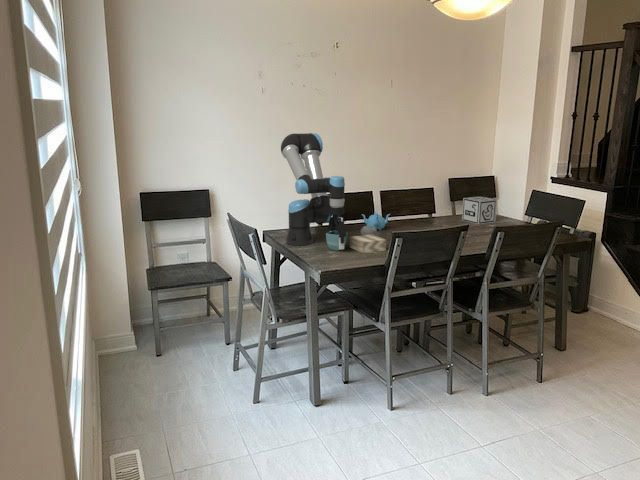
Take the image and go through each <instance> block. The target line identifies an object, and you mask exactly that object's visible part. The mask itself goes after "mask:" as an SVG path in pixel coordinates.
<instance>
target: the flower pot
mask: <svg viewBox="0 0 640 480" xmlns="http://www.w3.org/2000/svg"><path fill="white" fill-rule="evenodd" d="M348 234H349V233H348V231H346V236H345V237H344V247H345V246H346V244H347V241H348V236H349V235H348ZM339 236H340V235H339V232H338V230H335V231H331V232H330V231H328V232H326V233H325V238H326V239H325V240H326V244H327V246H328V248H329V249H330V250H333V251H338V252H339V251H340V250H342V249H339Z"/></svg>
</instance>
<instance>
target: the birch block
mask: <svg viewBox="0 0 640 480" xmlns="http://www.w3.org/2000/svg"><path fill="white" fill-rule="evenodd" d="M349 248H350V249H353V250H355V251H357V252H359V253H361V252H362V254H367V253H368V254H369V253H374V252H381V251H382V252H383V251H386V250H387V238H383V237H380V236H378V235H377V234H376V235H373V234H369V235H361V234H360V235H353V236H349Z"/></svg>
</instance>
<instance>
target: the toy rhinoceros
mask: <svg viewBox="0 0 640 480" xmlns="http://www.w3.org/2000/svg"><path fill="white" fill-rule="evenodd" d="M375 228H376V227H374V228H373V227H372V226H371V227H370V226H367V225H364V226H362V228H361V229H360V236H361V235H369V234H373V235H376V236H377V234H378V233H377V229H375Z"/></svg>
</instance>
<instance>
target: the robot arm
mask: <svg viewBox="0 0 640 480" xmlns="http://www.w3.org/2000/svg"><path fill="white" fill-rule="evenodd" d="M323 145H324V144H323V140H322V138H321V136H320V135H319V134H318V133H312V132H309V133H290V134H288V135H287V136H285V137H284V138H283V140H282V141H281V143H280V152H281V155H282V157H283V158H284V159H286V161H287V163H288V165H289V167H290V170H291V171H292V173H293V176H294V178H295V180H296V181H295V184H294V186H295V187H294V188H295V192H296V193H297V194H299V195H307V194H308V195H309V194H310V196H311V198H310V199H296V200H293V201H291V202H289V204H288V210H287V211H288V212H287V213H288V230H287V233H286V237H285V243H286V244H287V245H291V246H308V245H313V243H314V237H313V234H312V231H311V225H310V224H315V223H316V224H319V223H327V222H328V225H327V230H328V232H331V231H336V227H337V231H338V232H339V235H340V236H339V249H341V250H345V246H344V237H345V236H346V232H347V231H346V230H347V229H346V226H345V225H346V224H345V217H342V215H344V214H345V207H344V206H345V201H346V199H345V184H346V183H345V178H344V176H341V175H334V176H333V175H332V176H330V177H324V175H323V169H322V166H321V161H320V156H321V154H322V152H323V150H324V149H323V148H324V146H323Z"/></svg>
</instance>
